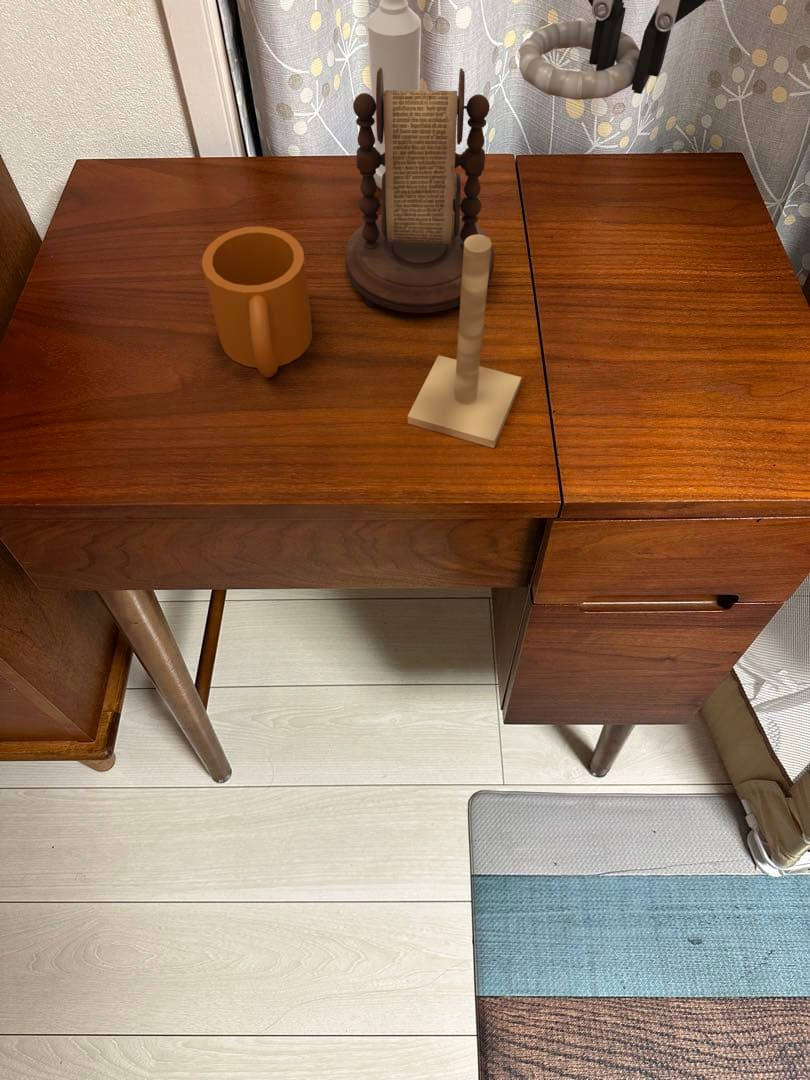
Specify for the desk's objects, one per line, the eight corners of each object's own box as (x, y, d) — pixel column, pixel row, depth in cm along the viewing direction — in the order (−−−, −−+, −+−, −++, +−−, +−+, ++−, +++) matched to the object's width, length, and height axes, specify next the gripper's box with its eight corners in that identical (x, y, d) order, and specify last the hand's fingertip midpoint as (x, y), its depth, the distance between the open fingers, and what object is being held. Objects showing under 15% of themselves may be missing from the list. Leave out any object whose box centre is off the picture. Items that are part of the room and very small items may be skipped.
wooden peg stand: (520, 384, 74) (546, 222, 60) (493, 448, 70) (514, 290, 56) (438, 362, 75) (444, 199, 61) (407, 423, 71) (406, 264, 57)
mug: (205, 392, 74) (182, 315, 66) (229, 303, 80) (210, 223, 73) (303, 396, 73) (291, 320, 66) (319, 306, 80) (310, 227, 72)
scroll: (341, 323, 78) (322, 122, 62) (351, 227, 86) (337, 26, 70) (494, 326, 78) (517, 124, 61) (490, 229, 86) (509, 27, 69)
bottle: (373, 167, 92) (362, -97, 71) (419, 166, 92) (421, -97, 71) (373, 194, 89) (361, -72, 68) (419, 194, 89) (422, -72, 68)
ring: (650, 53, 57) (656, 29, 56) (621, 114, 53) (627, 89, 52) (536, 32, 59) (539, 8, 58) (500, 89, 55) (502, 65, 54)
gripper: (877, -305, 40) (748, 75, 56) (568, -332, 44) (527, 33, 59) (863, -263, 36) (729, 132, 52) (525, -296, 40) (494, 84, 55)
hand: (622, 77), depth 55 cm, fingers closed on ring, 2 cm apart
